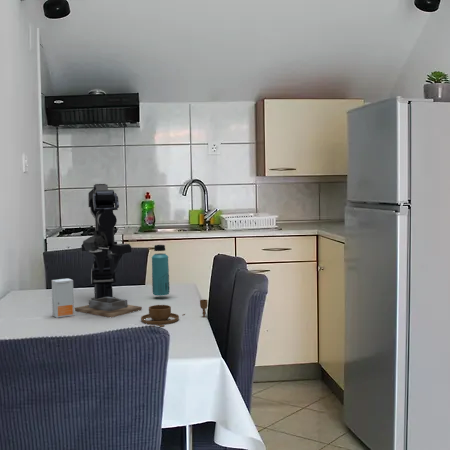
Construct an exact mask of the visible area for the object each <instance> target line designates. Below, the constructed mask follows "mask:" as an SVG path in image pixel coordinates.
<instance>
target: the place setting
mask: <svg viewBox="0 0 450 450" xmlns="http://www.w3.org/2000/svg"><path fill="white" fill-rule="evenodd" d="M208 304H209V303H208V299H200V300H199V306H200V309H202V318H206V317H207V316H206V309H207V308H208ZM185 315H186V313H183V314H182V316H185ZM146 318H148V319H152V320H148V319H146ZM169 318H172V319H170V320H169ZM144 319H145V320H144ZM179 319H180V315H179V314H177V313H173V312H172V306H170V305H168V304H154V305H150V306H149V307H148V313H146V314H144V315H141V317H140V321H141V323H143V322H144V323H143V324H146V323H147V325H151V326H155V325H156V326H160V327H159V328H164V327H165V325H169V324H174V323H177V322H178V321H179Z"/></svg>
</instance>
